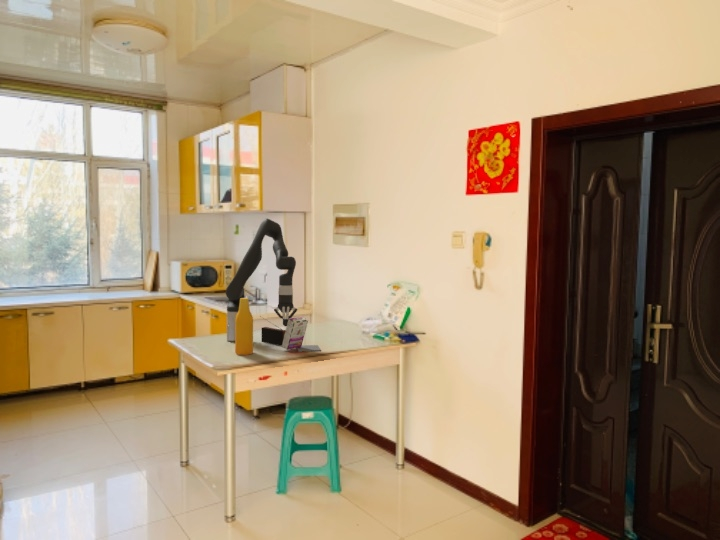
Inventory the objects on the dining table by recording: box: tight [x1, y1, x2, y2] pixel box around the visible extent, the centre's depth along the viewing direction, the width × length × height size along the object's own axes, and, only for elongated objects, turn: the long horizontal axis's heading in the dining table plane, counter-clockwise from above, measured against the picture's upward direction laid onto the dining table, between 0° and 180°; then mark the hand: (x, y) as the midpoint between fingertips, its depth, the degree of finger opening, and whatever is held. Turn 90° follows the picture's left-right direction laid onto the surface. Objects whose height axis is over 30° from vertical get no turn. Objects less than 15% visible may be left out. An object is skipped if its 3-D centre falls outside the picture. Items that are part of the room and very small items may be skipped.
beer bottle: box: [234, 297, 254, 356], centre depth 274 cm, size 9×9×29 cm
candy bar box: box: [281, 316, 309, 351], centre depth 284 cm, size 11×5×16 cm, turn 143°
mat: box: [296, 344, 322, 353], centre depth 288 cm, size 12×12×1 cm
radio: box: [259, 315, 286, 347], centre depth 300 cm, size 19×3×15 cm, turn 56°
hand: (285, 326), depth 281 cm, fingers closed
